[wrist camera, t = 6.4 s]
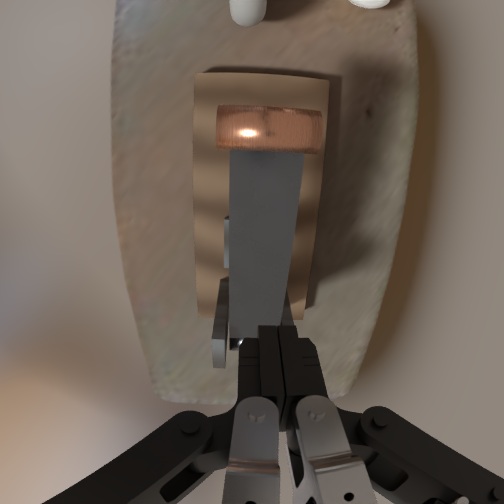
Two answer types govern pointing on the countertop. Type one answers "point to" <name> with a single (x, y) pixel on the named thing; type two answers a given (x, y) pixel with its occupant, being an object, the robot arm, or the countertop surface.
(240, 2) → the donut
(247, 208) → the lever
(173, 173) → the countertop surface
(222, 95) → the cracker base
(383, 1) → the white rounded bulbous piece
